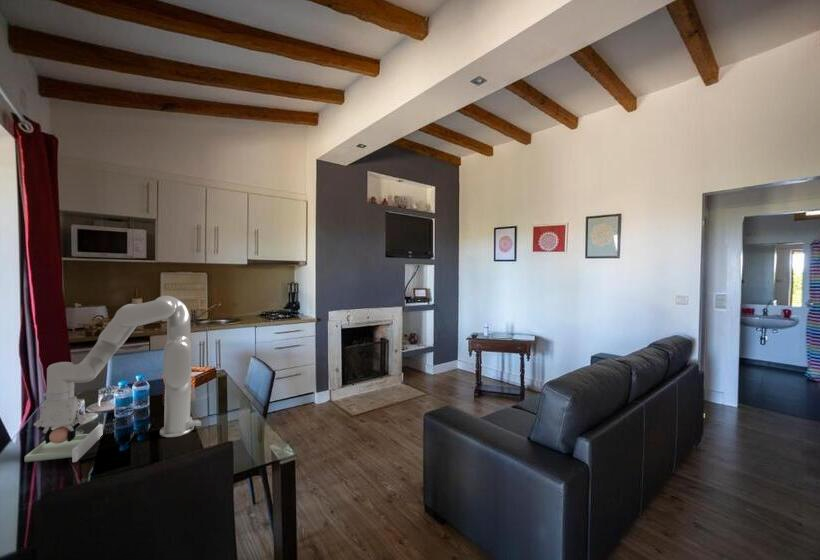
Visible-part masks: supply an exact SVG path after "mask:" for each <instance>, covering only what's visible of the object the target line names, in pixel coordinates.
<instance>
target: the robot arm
mask: <svg viewBox="0 0 820 560" xmlns="http://www.w3.org/2000/svg"><path fill="white" fill-rule="evenodd" d="M163 320H167V322H166V323H167V324H166V330H167V331H166V332H167V333H166V334H167V335H166V343H165V346H164V349H163V359H162V361H163V367H162V369H163V371H162V374H163V375H162V376H163V377H162V379H163V383H164V411H163V412H164V414H163V415H164V416H163V417H164V418H163V419H164V420H163V423H164V424H163V425H164V426H163V427H161V428H160V430H159V435H160V436H161V437H164V438H176V437H181V436H183V435H187V434H189V433H191V432H192V431H193V430H194V428H195V427H200V426H201V425H202V421H201V420H200V419H193V416H191V397H192V393H191V392H192V391H191V390H192V387H191V386H192V342H191V338H192V337H191V335H192V334H191V331H192V330H191V316H190V311H189V309H188V307H187V306H186V304H185V303H184V302H183V301H181V300H180V299H179V298H176V297H175V296H171V295H161V296H159V297H157V298H156V299H154V300H151V301H147V302H146V301H145V302H143V303H137V304H135V303H128V304H127V303H126V304H125V305H123V306H121V307H120V308H119V309H117V310H116V312H115V314H114V316H113V318H112V319H111V320H110V321H109V322H108V324H107V325H106V327H105V328H104V329H103V330H102V331H101V332H100V334H99V336H98V338H97V341H96V343H95V345H93V347H92V349H91V350H89V352H88V353H87V355H86V356H85V357H84V358H83V360H81V361H80V362H79V363H76V364H74V362H70V361H58V362H55V363H54V362H53V363H52V364H50V365H48V367H47V368H46V391H45V392H43V393H42V395H41V396H42V397H44V398H45V400H43V402H42V406H41V410H40V416H39V419H38V420H36V421H35V422H34V423H33V426H34V427H36V428H38V430H40V431H41V432H42V434H44V441H46V444H48V443H49V442H51V441H50V439H49V435H50V433H51V432H52V431H53V430H54V429H52V428H55V427H56V428H58V427H62V426H68V428H69V432H68V442H70V441H71V440H73V439H74V438H75V436H76V430H77V429H76V428H77V427H78V426H79V425H81V424H82V425H83V423H84V422H85V421H87V418H86V417H84V416H83V415H82V414H80V407H79V401H78V398H77V396H76V395H75V383H77V384H78V383H81V384H83V383H88V382H91V381H93V380H94V379H95V378H96V377H97V376H99V374H100V373H101V372H102V370H103V369H104V368H105V367H106V366H107V364H108V362H109V361H110V360H111V359H112V358H113V356H114V355H115V353H116V352H117V351H118V350H119V349H120V348H121V347H122V346H123V345H124V344H125V342H126V341H127V340H128V338H129V337H130V336H131V334H132V333H133V332H134V331H135V329H136V328H137V327H139V326H143V325H148V324H151V323H155V322H160V321H163ZM77 420H79V422H77V424H76V423H75V421H77ZM82 425H81V426H82Z"/></svg>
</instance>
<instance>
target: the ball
mask: <svg viewBox="0 0 820 560" xmlns="http://www.w3.org/2000/svg"><path fill="white" fill-rule="evenodd" d="M52 430H53V431H52V432H51V433H50V435H49V439H50V441H51V442H52V443H62V442H65V441H66V440H67V439H68V432H69V428H68V427H62V426H58V427H56V428H54V429H52Z"/></svg>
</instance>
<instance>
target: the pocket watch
mask: <svg viewBox="0 0 820 560" xmlns="http://www.w3.org/2000/svg"><path fill="white" fill-rule="evenodd" d="M78 422H79V420H76V421H75V423H76V424H77V423H78ZM82 425H83V423H82V424H81V425H79V426H78V427H77V428H76V435H82V434H84V430H83V429H79V428H81V427H82ZM61 427H68V426H61Z"/></svg>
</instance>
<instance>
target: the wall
mask: <svg viewBox="0 0 820 560" xmlns="http://www.w3.org/2000/svg"><path fill="white" fill-rule="evenodd" d="M103 427H104V425H103V423H99V424H97V426H96V427H94V429H92V430H91V431H90V432H89V433H87V434H88V435H87V436H86V437H85V438H84V439H83V440H82V441H81V442H79V443H78V444H77V445H76V446H75V447H74V448H73V449H72V457H71V458H72V459H71V461H72V463H77V462H78V461H79V460H80V459H81V458H82V457H83V456H84V455H86V453H87V452H88V451H89V450H90V449H91V448H92V447H93V446H94V445H95V444H96V443H97V442H98V441H99V440H100V439H101V438H102V437H103V436H104V435H103V434H104V433H103V432H104V429H103ZM102 435H103V436H102ZM101 436H102V437H101ZM100 437H101V438H100Z"/></svg>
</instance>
